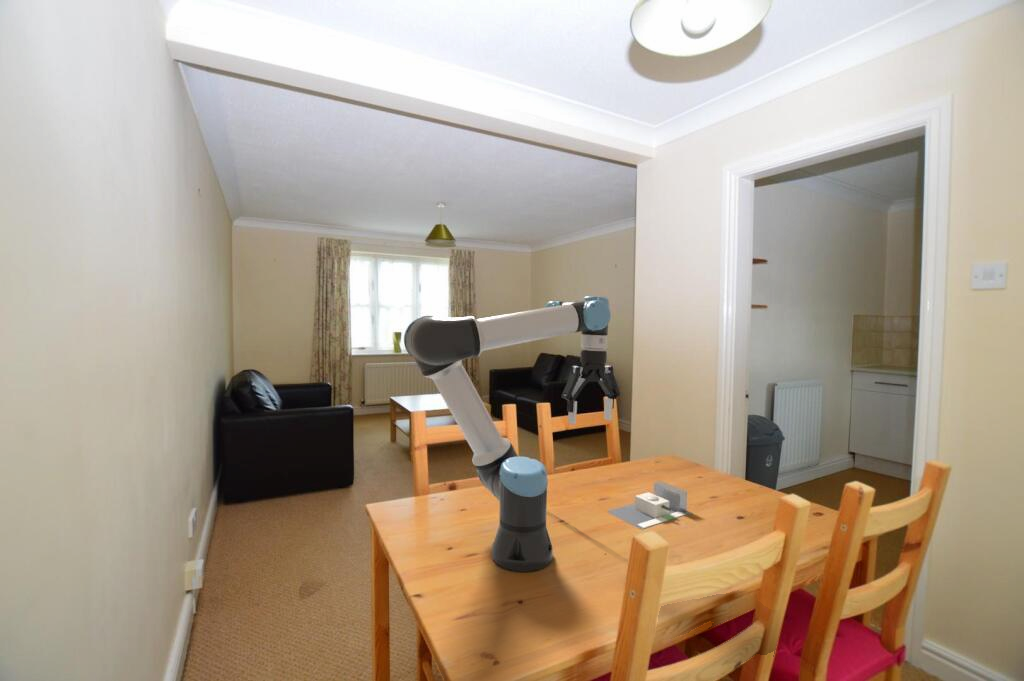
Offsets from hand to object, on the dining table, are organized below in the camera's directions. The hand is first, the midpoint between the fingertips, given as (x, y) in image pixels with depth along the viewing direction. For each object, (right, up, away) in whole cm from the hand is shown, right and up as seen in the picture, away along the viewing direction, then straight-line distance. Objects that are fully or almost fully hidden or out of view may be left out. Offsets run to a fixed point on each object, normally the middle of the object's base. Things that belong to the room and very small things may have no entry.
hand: (590, 421), depth 137 cm
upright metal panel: (+26, -28, +8) cm, 39 cm away
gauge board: (+18, -29, +4) cm, 35 cm away
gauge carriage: (+20, -28, +3) cm, 34 cm away
